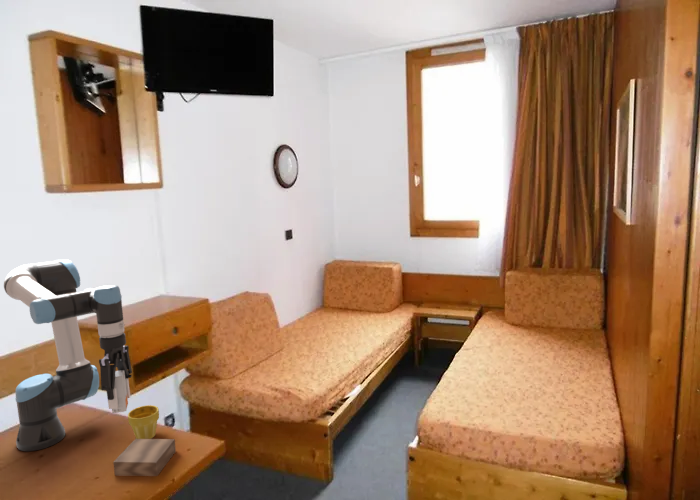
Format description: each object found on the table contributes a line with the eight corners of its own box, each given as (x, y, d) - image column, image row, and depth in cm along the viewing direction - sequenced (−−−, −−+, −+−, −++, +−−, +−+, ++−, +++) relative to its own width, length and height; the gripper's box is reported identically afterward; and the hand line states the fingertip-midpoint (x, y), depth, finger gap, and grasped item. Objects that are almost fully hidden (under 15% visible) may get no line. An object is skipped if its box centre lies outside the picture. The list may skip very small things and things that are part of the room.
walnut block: (114, 476, 158) (113, 462, 157) (136, 452, 172) (135, 438, 171) (157, 477, 157) (155, 462, 156) (175, 452, 171) (174, 439, 170)
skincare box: (126, 411, 159) (122, 375, 157) (112, 414, 157) (107, 378, 156) (128, 403, 164) (124, 369, 163) (114, 406, 163) (110, 371, 161)
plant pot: (150, 445, 175) (147, 419, 174) (124, 443, 177) (121, 417, 176) (166, 430, 185) (164, 405, 184) (141, 428, 188) (139, 404, 186)
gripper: (106, 344, 147) (114, 417, 151) (138, 325, 167) (145, 389, 170) (82, 344, 148) (91, 417, 151) (117, 325, 168) (124, 390, 171)
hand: (119, 402), depth 161 cm, fingers closed on skincare box, 7 cm apart
